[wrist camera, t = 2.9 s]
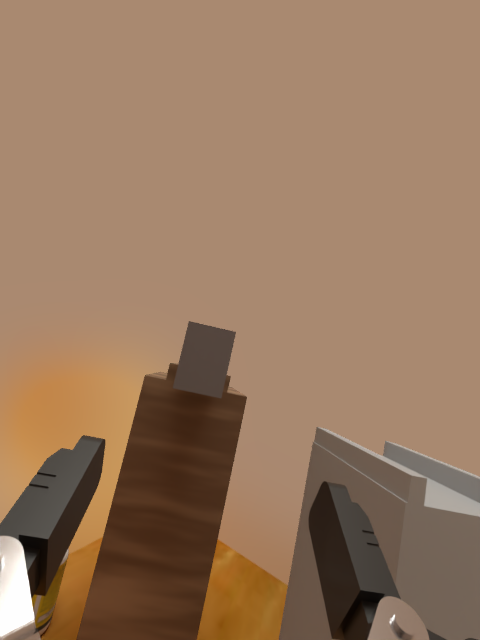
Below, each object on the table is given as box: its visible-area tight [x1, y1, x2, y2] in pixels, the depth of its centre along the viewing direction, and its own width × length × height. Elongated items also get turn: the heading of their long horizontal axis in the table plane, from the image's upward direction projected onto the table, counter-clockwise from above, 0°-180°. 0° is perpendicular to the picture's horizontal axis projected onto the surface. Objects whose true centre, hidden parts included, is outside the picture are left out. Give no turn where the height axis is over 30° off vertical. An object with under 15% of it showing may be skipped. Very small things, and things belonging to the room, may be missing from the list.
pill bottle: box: [31, 550, 69, 635], centre depth 40 cm, size 6×6×11 cm
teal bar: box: [173, 321, 236, 398], centre depth 36 cm, size 24×4×5 cm, turn 8°
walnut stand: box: [77, 363, 247, 640], centre depth 36 cm, size 14×10×34 cm
